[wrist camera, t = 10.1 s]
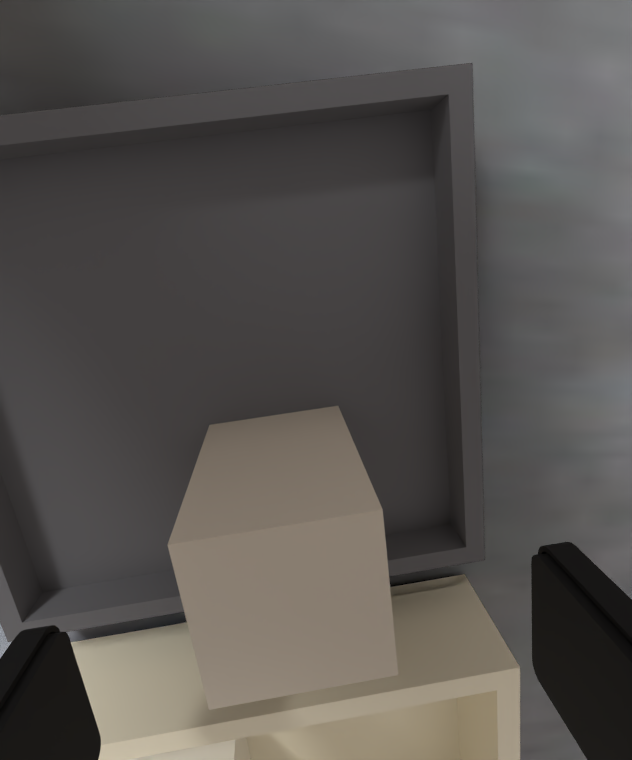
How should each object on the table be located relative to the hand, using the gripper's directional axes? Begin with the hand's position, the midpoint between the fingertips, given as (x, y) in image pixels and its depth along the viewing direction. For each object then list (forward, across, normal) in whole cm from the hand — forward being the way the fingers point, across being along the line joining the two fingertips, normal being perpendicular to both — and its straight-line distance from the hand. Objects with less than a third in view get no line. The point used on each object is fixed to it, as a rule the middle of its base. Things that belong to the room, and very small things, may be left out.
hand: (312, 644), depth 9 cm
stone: (+6, 0, -1) cm, 6 cm away
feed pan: (+6, +2, -4) cm, 8 cm away
